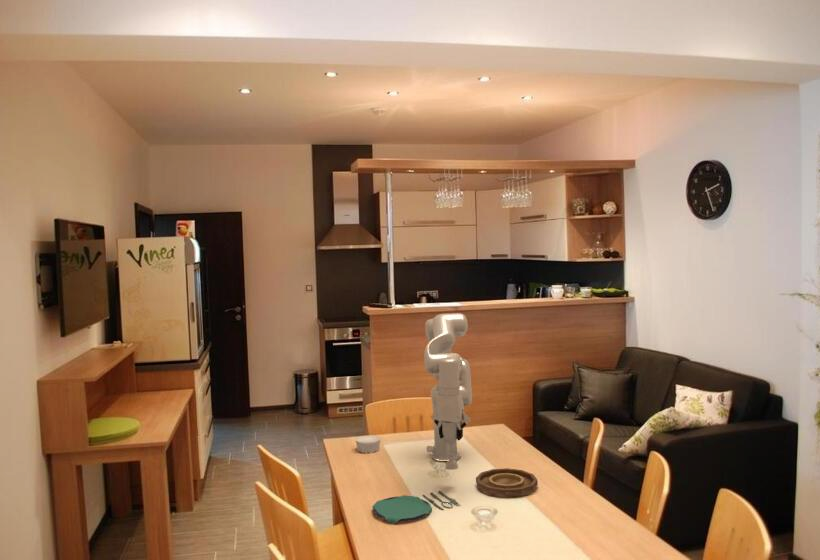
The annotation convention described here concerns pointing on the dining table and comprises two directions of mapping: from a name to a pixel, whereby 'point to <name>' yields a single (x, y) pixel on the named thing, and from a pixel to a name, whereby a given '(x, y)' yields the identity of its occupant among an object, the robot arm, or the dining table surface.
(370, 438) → the ramekin
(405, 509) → the cutlery set
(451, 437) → the chalice
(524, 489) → the tray
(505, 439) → the dining table surface
